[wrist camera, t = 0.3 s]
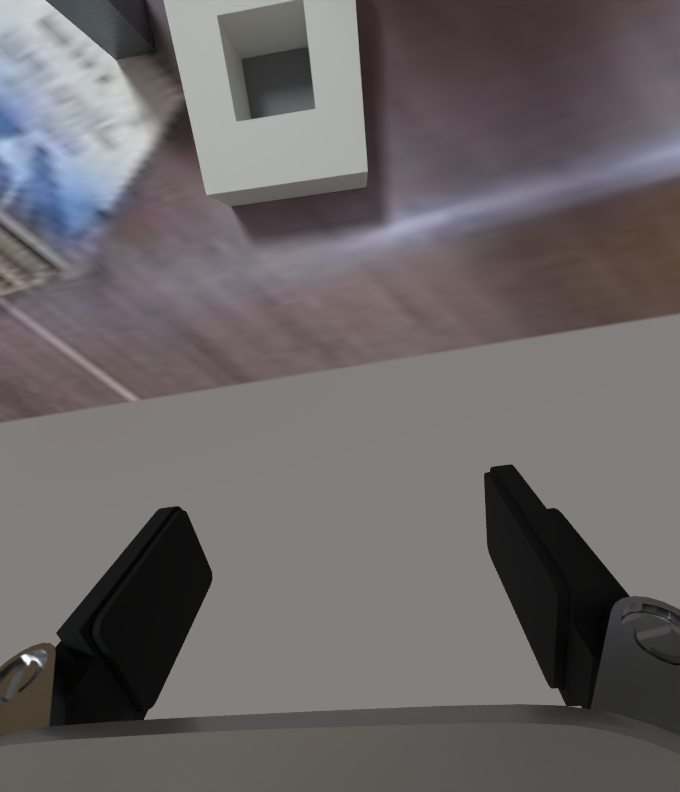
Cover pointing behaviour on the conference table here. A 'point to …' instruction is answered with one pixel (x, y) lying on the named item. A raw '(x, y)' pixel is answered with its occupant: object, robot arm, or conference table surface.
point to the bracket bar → (111, 24)
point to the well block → (272, 96)
